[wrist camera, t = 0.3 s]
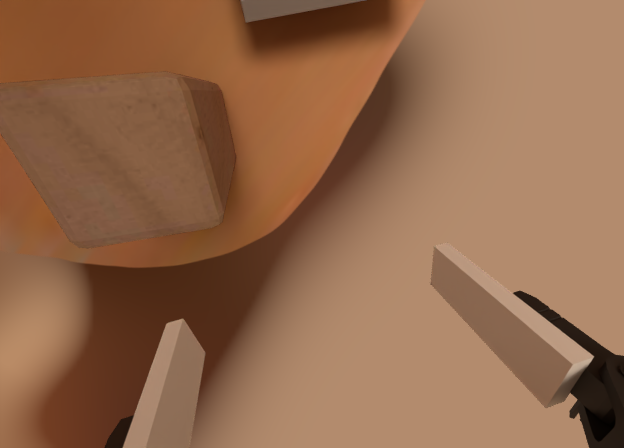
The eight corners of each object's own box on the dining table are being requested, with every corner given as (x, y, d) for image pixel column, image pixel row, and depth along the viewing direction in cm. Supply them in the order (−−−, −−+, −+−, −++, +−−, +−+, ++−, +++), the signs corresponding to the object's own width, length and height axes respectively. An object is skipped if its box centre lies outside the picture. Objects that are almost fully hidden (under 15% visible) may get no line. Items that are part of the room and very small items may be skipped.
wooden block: (220, 81, 30) (180, 68, 13) (237, 162, 35) (226, 231, 18) (131, 88, 29) (-45, 84, 12) (162, 172, 34) (70, 257, 17)
